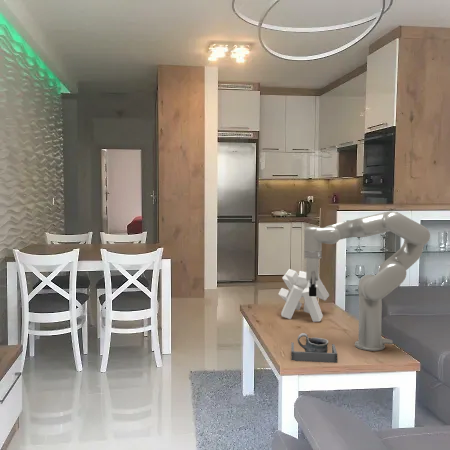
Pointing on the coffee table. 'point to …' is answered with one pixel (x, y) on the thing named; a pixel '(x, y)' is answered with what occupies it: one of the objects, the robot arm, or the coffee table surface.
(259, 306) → the coffee table surface
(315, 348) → the mug
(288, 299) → the white crossed bars sculpture
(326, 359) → the frame
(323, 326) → the coffee table surface
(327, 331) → the coffee table surface
